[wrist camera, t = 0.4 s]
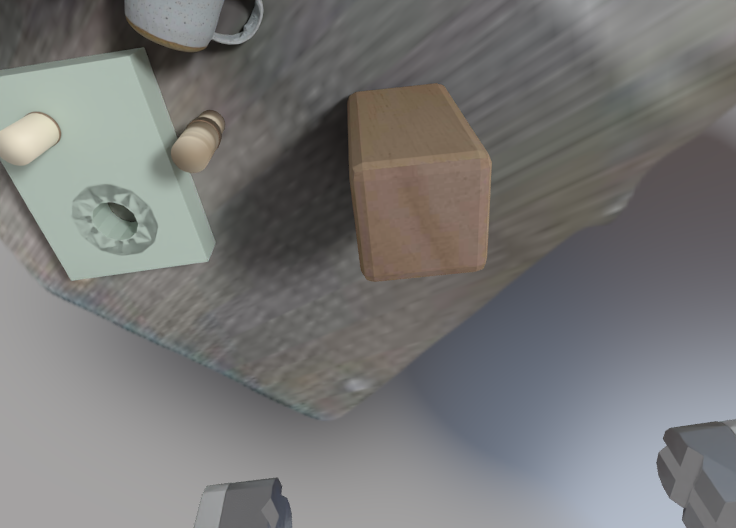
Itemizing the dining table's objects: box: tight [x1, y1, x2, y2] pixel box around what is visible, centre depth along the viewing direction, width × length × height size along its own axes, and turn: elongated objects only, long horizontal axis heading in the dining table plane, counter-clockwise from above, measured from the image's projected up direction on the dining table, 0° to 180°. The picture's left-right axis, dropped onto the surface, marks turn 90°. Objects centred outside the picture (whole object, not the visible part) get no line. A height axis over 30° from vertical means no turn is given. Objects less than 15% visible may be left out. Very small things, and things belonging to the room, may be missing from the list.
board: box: [0, 47, 216, 281], centre depth 50 cm, size 22×16×9 cm
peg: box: [171, 110, 225, 173], centre depth 47 cm, size 3×3×9 cm
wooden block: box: [347, 83, 492, 282], centre depth 44 cm, size 10×10×20 cm
